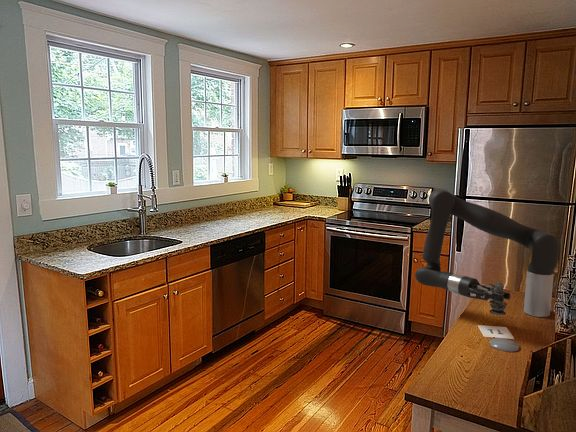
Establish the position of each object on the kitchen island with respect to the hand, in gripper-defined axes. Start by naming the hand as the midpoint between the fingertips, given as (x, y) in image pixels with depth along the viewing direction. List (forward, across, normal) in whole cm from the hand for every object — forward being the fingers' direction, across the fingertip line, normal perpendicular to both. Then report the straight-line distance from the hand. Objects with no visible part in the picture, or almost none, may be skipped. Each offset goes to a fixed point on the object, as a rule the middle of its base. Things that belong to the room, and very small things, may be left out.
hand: (506, 297), depth 154 cm
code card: (-3, 0, +14) cm, 14 cm away
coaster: (+5, -8, +14) cm, 17 cm away
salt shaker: (-3, 0, +7) cm, 7 cm away
